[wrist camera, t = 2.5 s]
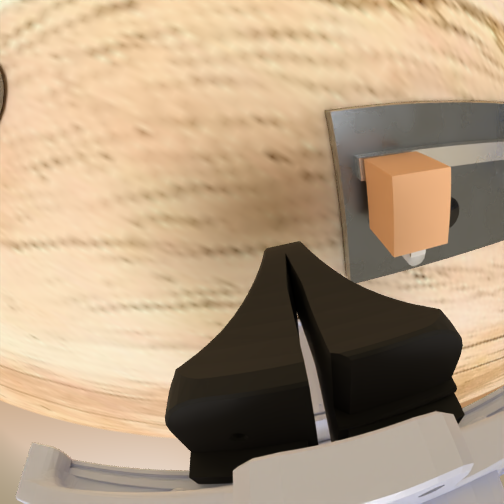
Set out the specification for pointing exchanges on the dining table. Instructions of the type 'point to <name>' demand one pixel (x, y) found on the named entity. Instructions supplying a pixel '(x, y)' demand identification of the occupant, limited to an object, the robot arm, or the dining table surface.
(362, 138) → the bolt plate
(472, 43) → the dining table surface
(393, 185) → the orange block
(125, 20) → the dining table surface
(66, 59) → the dining table surface
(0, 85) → the pocket watch
